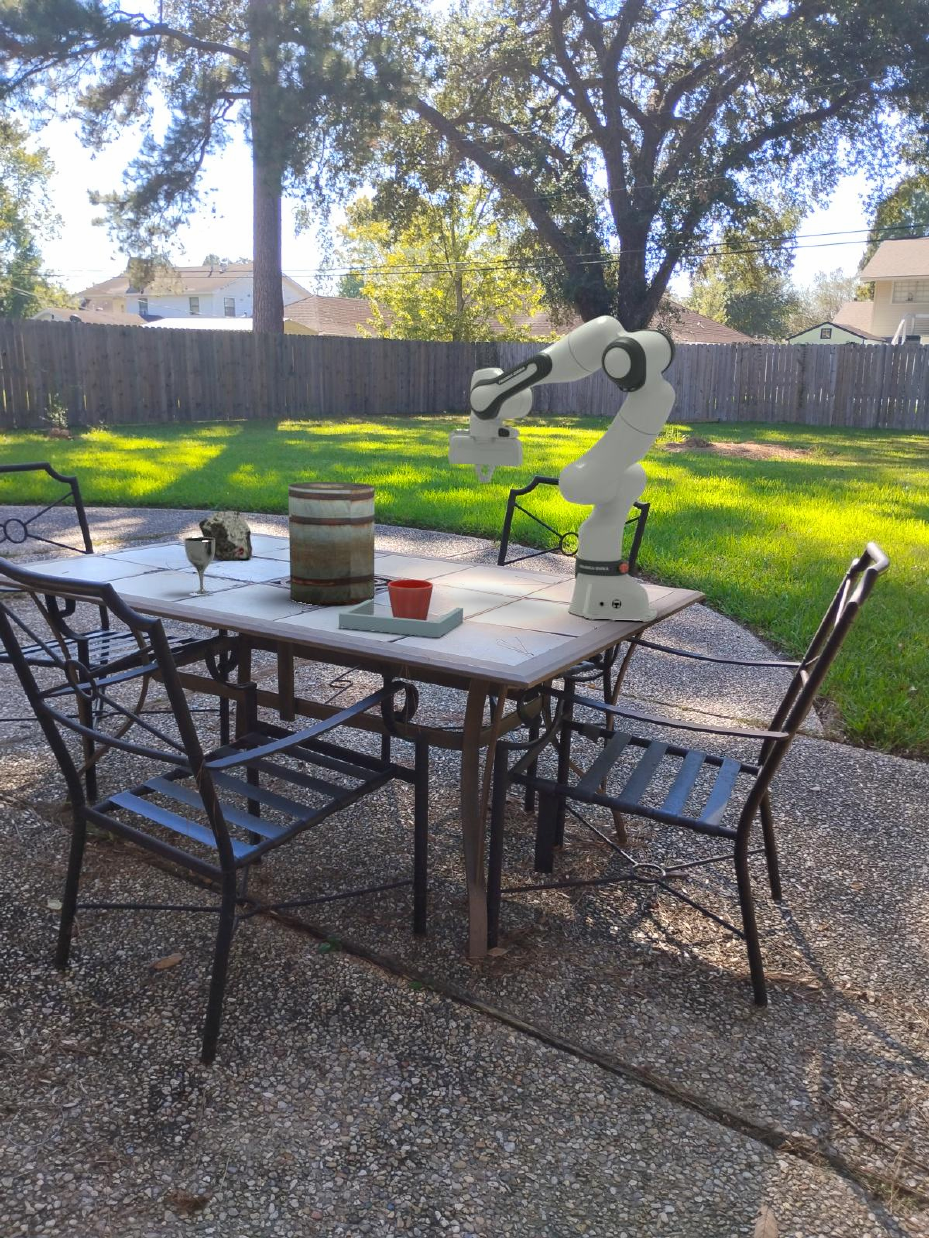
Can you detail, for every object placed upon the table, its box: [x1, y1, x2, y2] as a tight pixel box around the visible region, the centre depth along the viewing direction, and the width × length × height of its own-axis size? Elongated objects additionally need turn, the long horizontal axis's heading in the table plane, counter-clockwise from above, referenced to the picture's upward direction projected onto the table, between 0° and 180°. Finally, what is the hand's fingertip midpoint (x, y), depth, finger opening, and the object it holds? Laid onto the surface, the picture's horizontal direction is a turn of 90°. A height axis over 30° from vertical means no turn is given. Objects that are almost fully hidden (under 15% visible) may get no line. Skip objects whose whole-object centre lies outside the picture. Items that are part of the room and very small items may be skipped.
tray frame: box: [338, 599, 464, 638], centre depth 239 cm, size 25×18×4 cm
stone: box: [198, 510, 253, 562], centre depth 327 cm, size 19×18×15 cm
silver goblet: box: [183, 536, 215, 594], centre depth 268 cm, size 8×8×15 cm
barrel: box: [288, 481, 375, 607], centre depth 266 cm, size 22×22×30 cm
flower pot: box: [387, 579, 434, 621], centre depth 241 cm, size 11×11×10 cm
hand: (484, 482), depth 270 cm, fingers closed
